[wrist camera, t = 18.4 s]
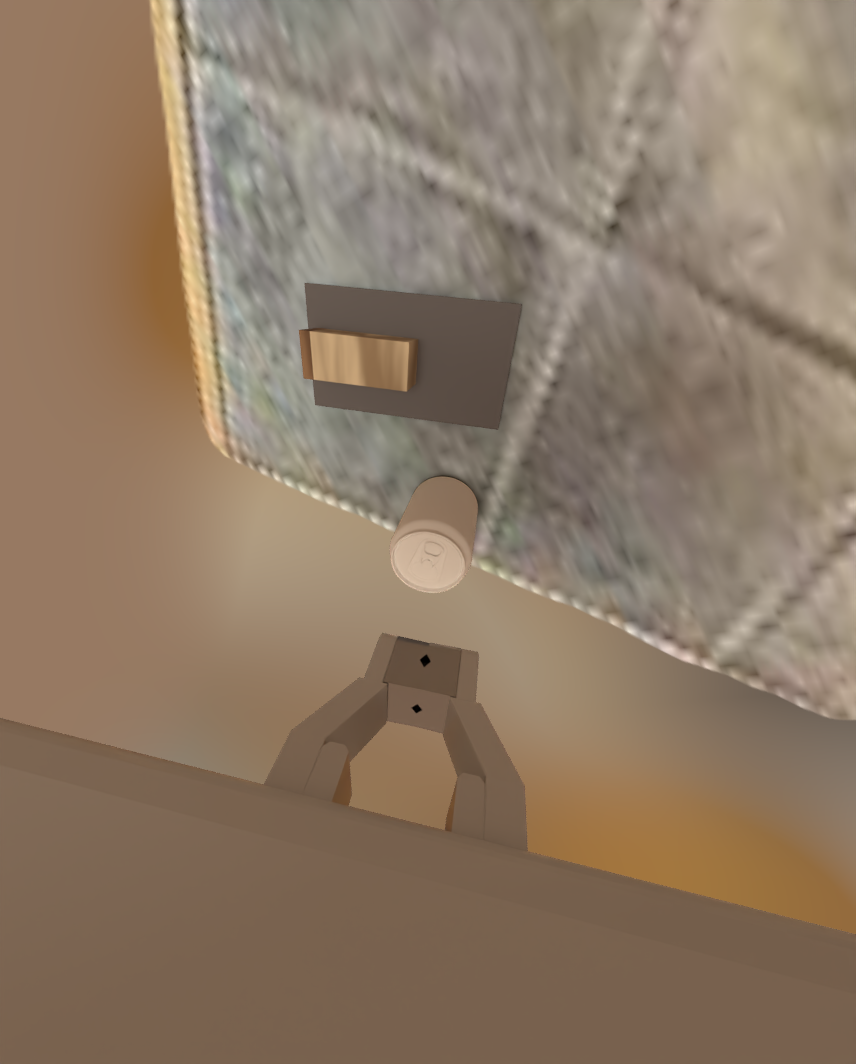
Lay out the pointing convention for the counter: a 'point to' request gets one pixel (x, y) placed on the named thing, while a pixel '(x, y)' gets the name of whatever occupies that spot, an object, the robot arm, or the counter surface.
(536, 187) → the counter surface
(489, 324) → the rubber mat
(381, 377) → the maple block
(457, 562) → the beverage can
